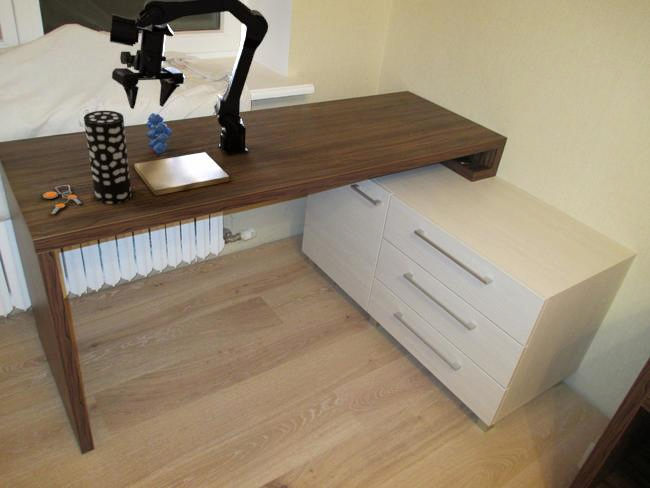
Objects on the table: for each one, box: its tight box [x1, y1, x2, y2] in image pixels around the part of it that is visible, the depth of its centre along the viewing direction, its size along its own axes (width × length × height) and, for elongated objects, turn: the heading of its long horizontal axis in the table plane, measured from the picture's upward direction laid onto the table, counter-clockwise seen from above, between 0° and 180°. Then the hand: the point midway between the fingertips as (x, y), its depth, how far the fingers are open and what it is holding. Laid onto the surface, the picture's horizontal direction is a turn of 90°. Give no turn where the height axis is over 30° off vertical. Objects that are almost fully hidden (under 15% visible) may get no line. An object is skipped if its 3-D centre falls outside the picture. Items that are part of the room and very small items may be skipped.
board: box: [133, 152, 230, 196], centre depth 145 cm, size 20×16×2 cm
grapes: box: [145, 112, 173, 155], centre depth 152 cm, size 12×7×12 cm, turn 35°
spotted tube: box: [83, 110, 132, 205], centre depth 127 cm, size 8×8×20 cm
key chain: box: [42, 184, 82, 215], centre depth 128 cm, size 13×7×1 cm, turn 31°
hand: (146, 107), depth 148 cm, fingers open, 9 cm apart
